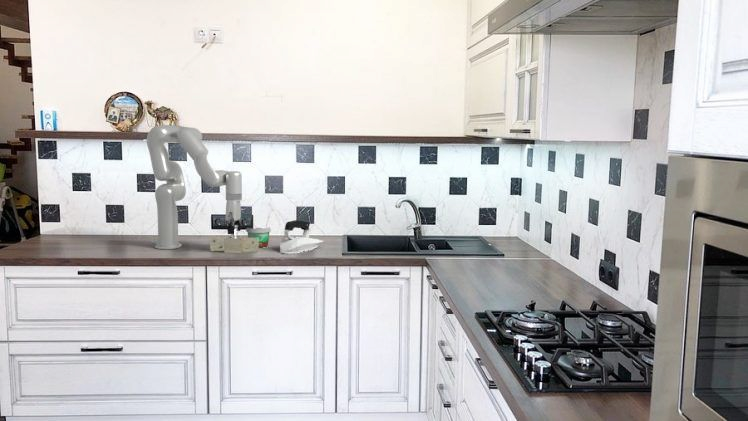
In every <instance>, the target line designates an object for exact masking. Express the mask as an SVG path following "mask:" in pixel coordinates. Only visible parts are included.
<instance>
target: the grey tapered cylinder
mask: <svg viewBox="0 0 748 421" xmlns="http://www.w3.org/2000/svg"><path fill="white" fill-rule="evenodd" d="M237 227H238V225H234V234H230V236H231V238H237V236H238V231H237Z"/></svg>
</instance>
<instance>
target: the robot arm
mask: <svg viewBox="0 0 748 421" xmlns="http://www.w3.org/2000/svg"><path fill="white" fill-rule="evenodd" d="M202 141H203V134H202V132H201V131H200V130H199V129H198V128H196V127H189V126H181V125H173V124H172V125H171V124H159V125H156V126H153V127H152V128H151V129H150V130H149V131H148V133H147V136H146V146H147V149H148V153H149V156H150V158H149V159H150V162H151V167H152V172H153V176H154V178H155V179H156V180H158V181H160V182H166V183H163V184H160V185H159V186H157V188H155V190H154V191H155V192H154V198H155V202H156V209H157V211H156V214H157V238H150V243H151V244H153V243H154V247H155V248H156V249H159V250H172V249H173V250H174V249H179V248H182V245H183V244H182V243H180V242H179V213H178V212H179V211H178V207H177V204H176V202H179V201H182V200H183V199H184V198H185V197H186V194H187V188H186V184H185V180H184V173H183V170H182V167H181V165H180V164H179V163H178V162H176V161H173V160H170V157H169V152H168V149H167V148H166V146H165V143H167V144H168V143H177V144H180V146H181V147H182V148H183V150H185V153H187V154H188V155H189V157H190V158H191V159H192V161H193V164H194V167H195V170H196V173H197V175H198V176H199V178H201V179H202V180H203V182H204V183H205V184H206V185H208V187H211V188H217V187H223V186H225V201H226V204H225V205H226V206H225V221H226V222H227V223H226V225H227V235H231V234H234V225H238V227H237V232H241V218H242V210H241V209H242V206H241V201H242V199H243V196H242V195H243V192H242V191H243V186H242V182H243V181H242V180H243V179H242V173H241V172H240V171H235V170H234V171H232V170H230V171H229V170H223V169H221V170H215V169H214V168H213V167H212V166H211V164H210V163H209V161H208V158H207V157H208V154H209V150H208V148H207V147H206V146H205V145H204V143H203V142H202Z"/></svg>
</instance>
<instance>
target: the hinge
mask: <svg viewBox="0 0 748 421" xmlns="http://www.w3.org/2000/svg"><path fill="white" fill-rule="evenodd" d="M259 249H260V248H259V238H250V237H248V236H246V237H245V236H244V235H237V238H231V235H227V236H220V235H219V236H215V235H214V236H213V235H210V236H209V251H210V252H224V253H225V254H241V253H257V252H258V253H259Z"/></svg>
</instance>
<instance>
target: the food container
mask: <svg viewBox="0 0 748 421" xmlns="http://www.w3.org/2000/svg"><path fill="white" fill-rule="evenodd" d="M245 232H246V233H247V237H250V238H259V249H264V248H263V247H266V248H268V247H269V238H270V233H271V232H272V230H271V227H264V228H262V227H256V228H251V227H247V228H246V231H245ZM267 246H268V247H267Z"/></svg>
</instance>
